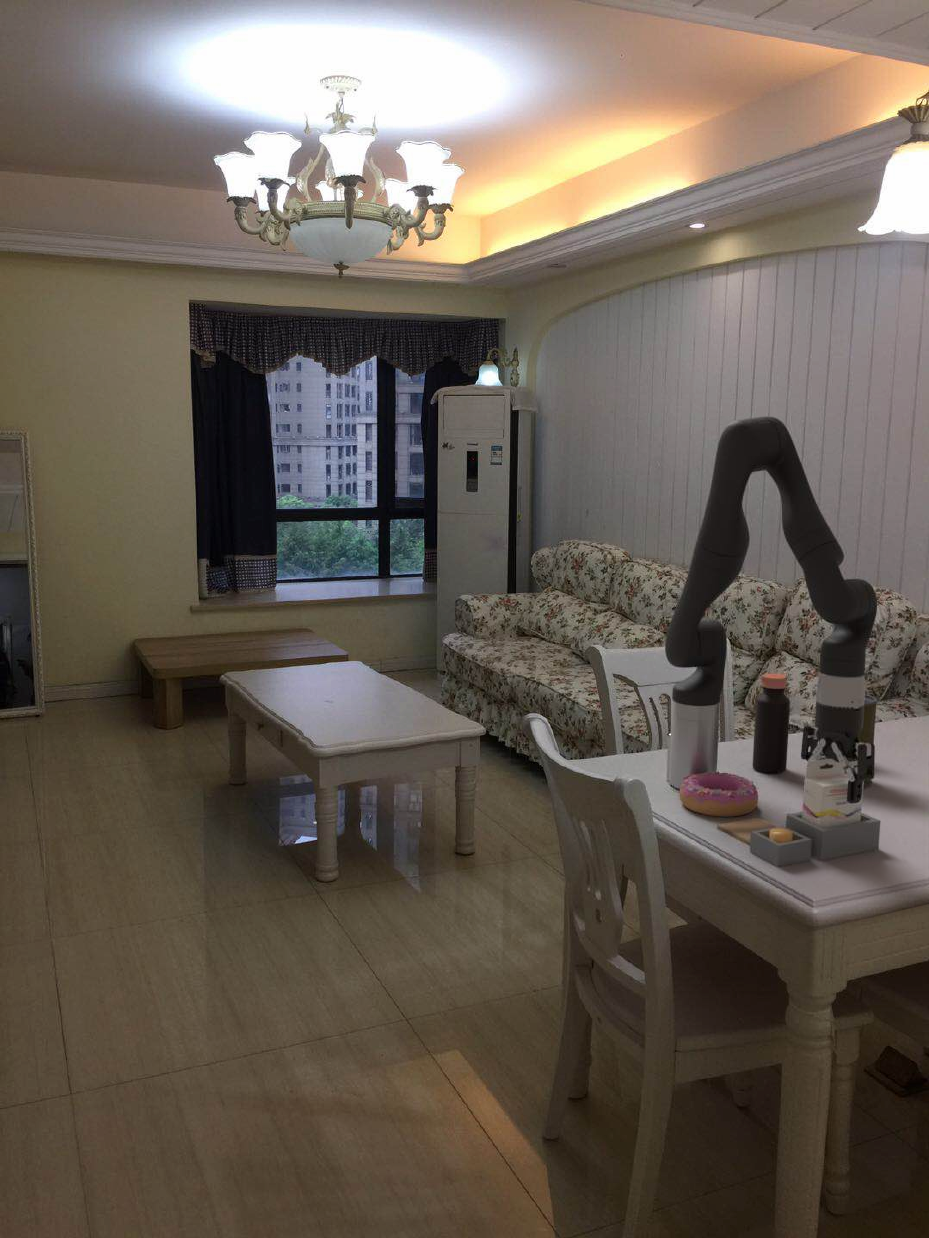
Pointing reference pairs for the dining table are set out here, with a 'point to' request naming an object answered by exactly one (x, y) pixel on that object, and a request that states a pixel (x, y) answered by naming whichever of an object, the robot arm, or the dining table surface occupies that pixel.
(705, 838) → the dining table surface
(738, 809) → the donut
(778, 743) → the black water bottle
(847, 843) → the gray open bin
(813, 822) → the ink cartridge box
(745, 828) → the walnut pad
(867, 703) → the canister
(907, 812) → the dining table surface
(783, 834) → the egg
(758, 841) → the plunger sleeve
